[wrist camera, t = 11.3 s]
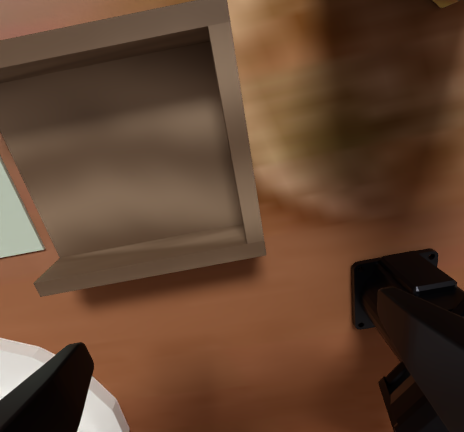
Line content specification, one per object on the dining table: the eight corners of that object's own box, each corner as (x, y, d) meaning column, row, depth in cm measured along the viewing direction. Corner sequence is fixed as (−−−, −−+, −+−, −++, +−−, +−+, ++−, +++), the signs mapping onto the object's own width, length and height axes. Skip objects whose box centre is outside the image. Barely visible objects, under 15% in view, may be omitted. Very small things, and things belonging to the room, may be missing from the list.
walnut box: (257, 228, 20) (266, 255, 17) (72, 262, 21) (40, 296, 17) (224, 21, 16) (225, -6, 12) (-16, 69, 16) (-86, 58, 12)
